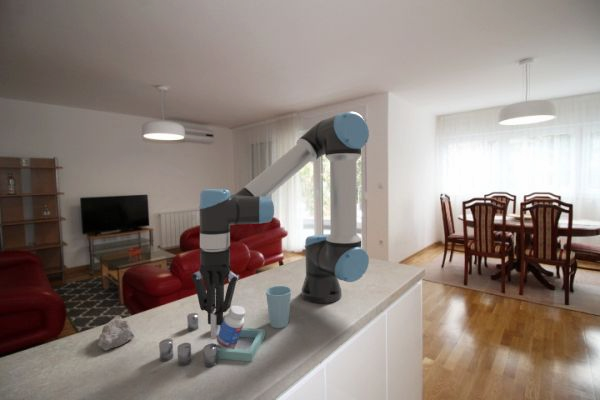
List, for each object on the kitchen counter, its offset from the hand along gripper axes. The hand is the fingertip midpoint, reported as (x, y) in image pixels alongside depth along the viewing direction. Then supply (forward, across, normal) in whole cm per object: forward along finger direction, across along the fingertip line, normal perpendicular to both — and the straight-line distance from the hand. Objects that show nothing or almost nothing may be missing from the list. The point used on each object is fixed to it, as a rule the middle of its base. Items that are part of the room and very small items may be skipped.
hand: (215, 335), depth 74 cm
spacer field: (+3, +5, 0) cm, 5 cm away
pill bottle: (+2, -3, 0) cm, 3 cm away
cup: (+2, -14, -13) cm, 20 cm away
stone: (+4, +28, +2) cm, 29 cm away
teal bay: (+2, -7, 0) cm, 7 cm away
